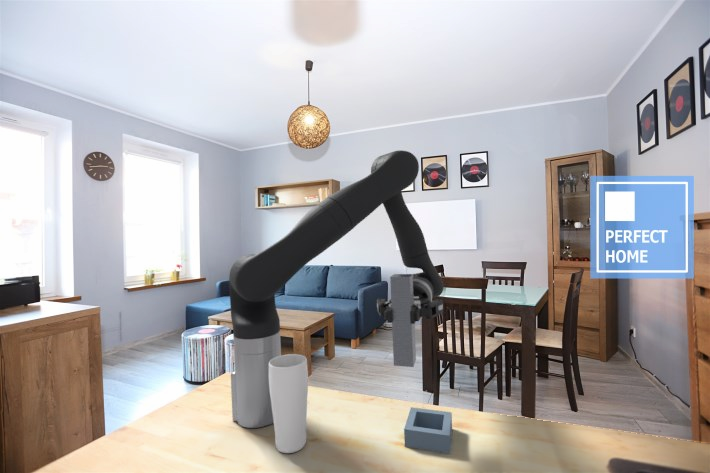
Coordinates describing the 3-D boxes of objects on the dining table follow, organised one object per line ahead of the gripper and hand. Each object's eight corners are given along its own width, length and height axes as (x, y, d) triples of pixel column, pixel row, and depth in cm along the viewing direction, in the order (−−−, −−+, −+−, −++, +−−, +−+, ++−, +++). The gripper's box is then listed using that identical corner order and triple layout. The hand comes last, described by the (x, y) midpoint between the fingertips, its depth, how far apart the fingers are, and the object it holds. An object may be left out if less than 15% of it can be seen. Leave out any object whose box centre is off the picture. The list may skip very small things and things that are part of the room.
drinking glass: (302, 459, 55) (299, 368, 55) (264, 455, 57) (260, 367, 57) (315, 435, 62) (312, 354, 62) (281, 432, 63) (278, 352, 63)
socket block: (404, 446, 58) (404, 429, 58) (411, 422, 65) (410, 407, 65) (450, 453, 56) (449, 435, 56) (452, 428, 63) (451, 412, 63)
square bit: (393, 365, 61) (390, 276, 61) (397, 358, 64) (394, 274, 64) (413, 367, 60) (409, 276, 59) (416, 359, 63) (412, 274, 63)
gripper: (382, 280, 77) (360, 295, 61) (446, 281, 73) (441, 297, 57) (383, 313, 78) (362, 336, 61) (447, 315, 73) (443, 341, 57)
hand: (400, 317), depth 59 cm, fingers closed on square bit, 3 cm apart
